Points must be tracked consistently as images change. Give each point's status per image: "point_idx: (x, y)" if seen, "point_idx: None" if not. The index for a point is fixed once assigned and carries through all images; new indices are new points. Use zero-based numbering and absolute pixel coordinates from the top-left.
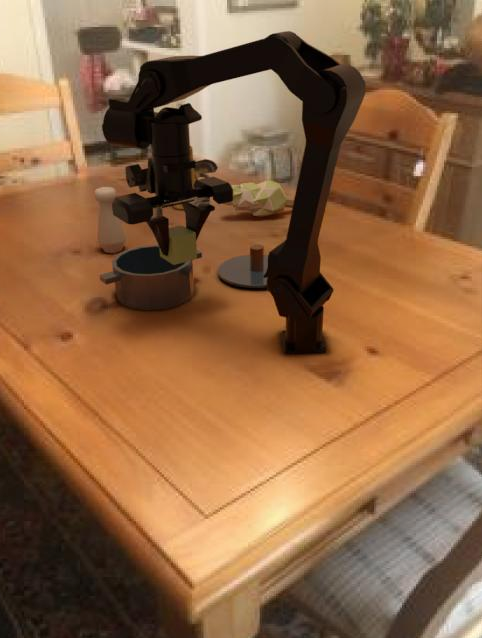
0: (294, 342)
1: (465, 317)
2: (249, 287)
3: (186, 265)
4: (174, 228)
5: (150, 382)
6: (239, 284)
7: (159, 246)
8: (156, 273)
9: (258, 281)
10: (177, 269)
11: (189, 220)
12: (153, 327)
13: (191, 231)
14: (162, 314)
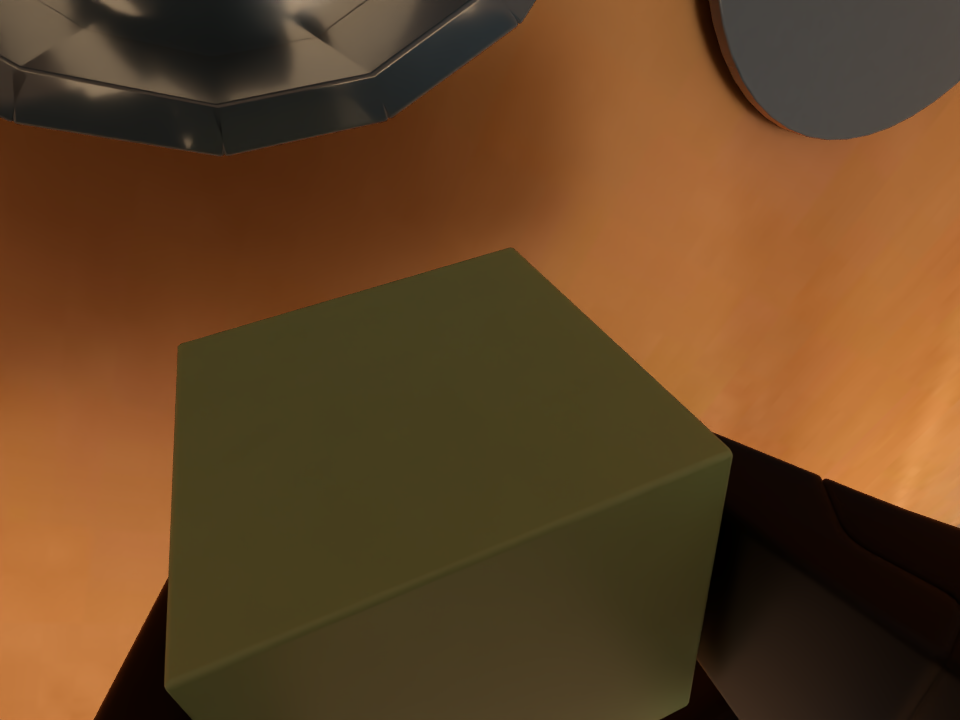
0: None
1: (941, 484)
2: (743, 93)
3: (495, 39)
4: (546, 586)
5: (30, 693)
6: (727, 45)
7: (157, 612)
8: (131, 97)
9: (812, 71)
10: (382, 98)
11: (844, 692)
12: (75, 304)
13: (676, 680)
14: (161, 156)
